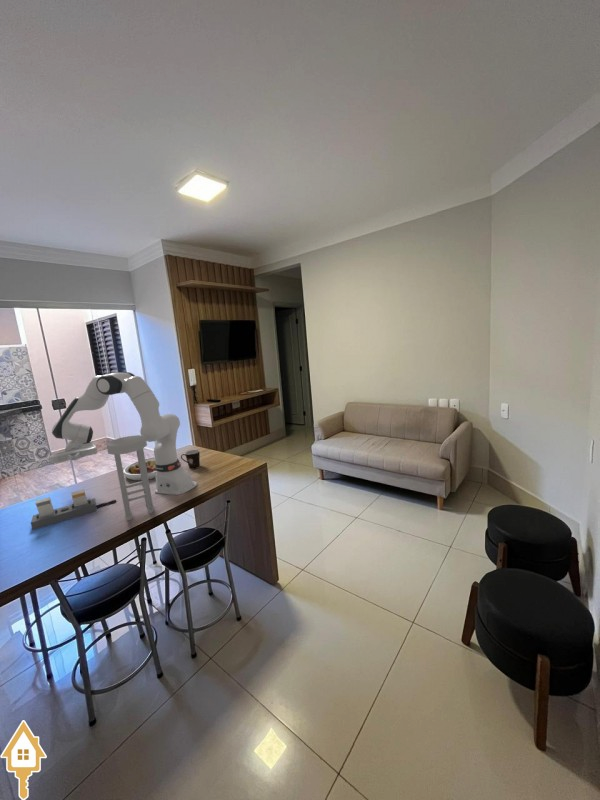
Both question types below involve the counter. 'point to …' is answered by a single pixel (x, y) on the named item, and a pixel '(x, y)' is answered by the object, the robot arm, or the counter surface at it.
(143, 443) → the stool
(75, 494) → the white upright block
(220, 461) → the counter surface
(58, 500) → the counter surface
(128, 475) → the bowl
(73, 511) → the power strip
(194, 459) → the coffee mug
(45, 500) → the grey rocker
